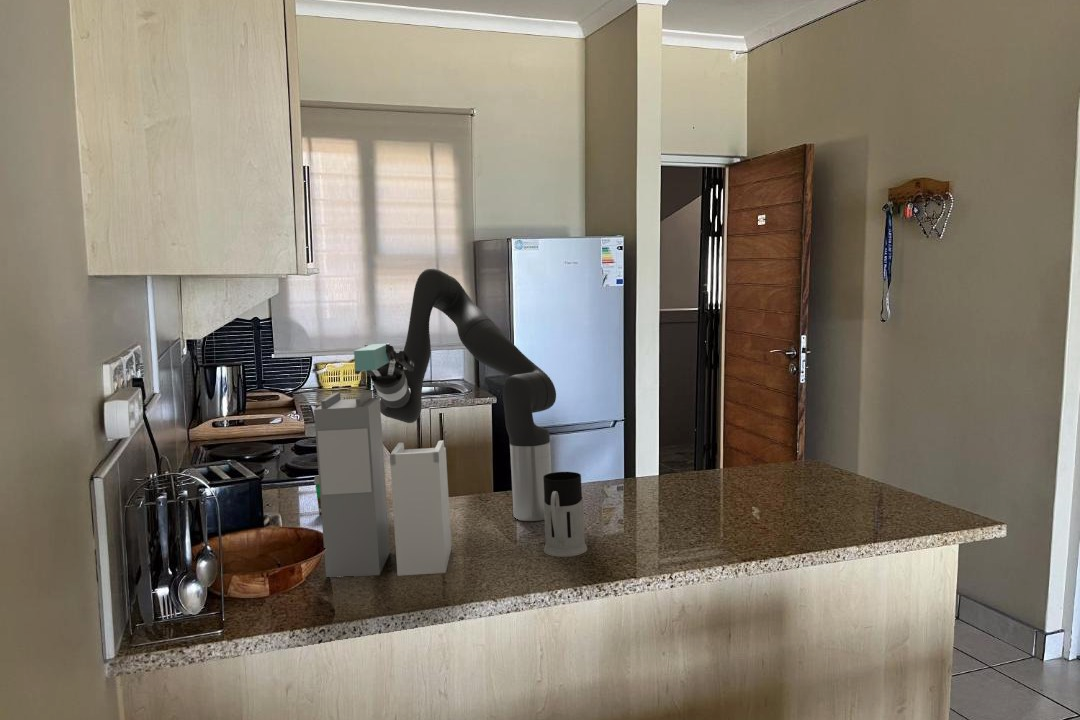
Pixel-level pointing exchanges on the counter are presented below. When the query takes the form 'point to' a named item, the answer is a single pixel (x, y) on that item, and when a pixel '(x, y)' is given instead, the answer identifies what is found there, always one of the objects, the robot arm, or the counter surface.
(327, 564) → the tall grey pillar
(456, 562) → the counter surface
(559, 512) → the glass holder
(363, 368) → the teal square bar
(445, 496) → the white open box
